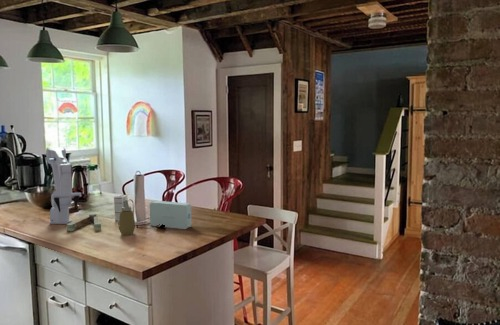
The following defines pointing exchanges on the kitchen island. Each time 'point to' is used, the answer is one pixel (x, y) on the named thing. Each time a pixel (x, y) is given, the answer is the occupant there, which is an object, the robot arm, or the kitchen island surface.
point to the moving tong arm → (78, 223)
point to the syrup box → (119, 205)
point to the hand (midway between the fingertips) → (67, 210)
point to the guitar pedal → (170, 214)
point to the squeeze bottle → (126, 220)
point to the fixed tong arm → (95, 222)
